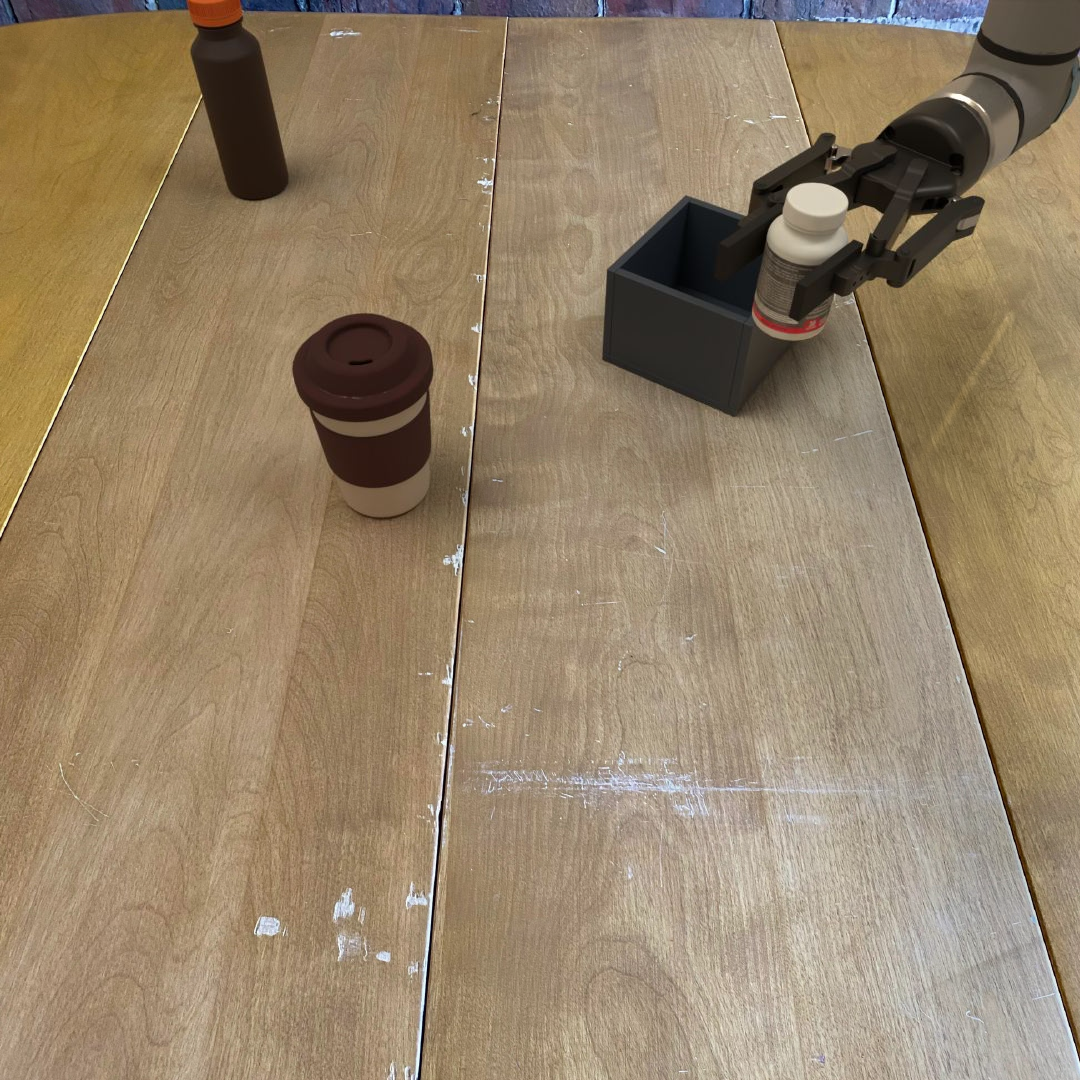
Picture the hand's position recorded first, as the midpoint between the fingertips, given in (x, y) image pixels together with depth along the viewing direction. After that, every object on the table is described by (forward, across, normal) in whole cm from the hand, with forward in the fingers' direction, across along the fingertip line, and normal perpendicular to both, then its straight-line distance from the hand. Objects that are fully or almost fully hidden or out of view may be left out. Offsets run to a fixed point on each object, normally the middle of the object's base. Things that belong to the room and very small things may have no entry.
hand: (758, 281), depth 65 cm
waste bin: (-13, +12, -20) cm, 27 cm away
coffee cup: (+19, +20, -20) cm, 34 cm away
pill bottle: (-5, 0, -6) cm, 8 cm away
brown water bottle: (-1, +65, -21) cm, 68 cm away
